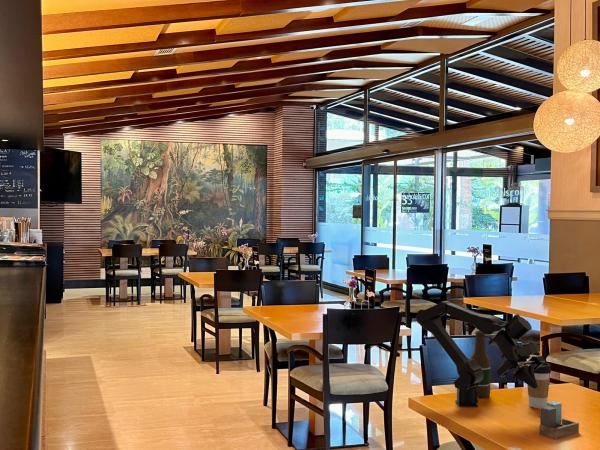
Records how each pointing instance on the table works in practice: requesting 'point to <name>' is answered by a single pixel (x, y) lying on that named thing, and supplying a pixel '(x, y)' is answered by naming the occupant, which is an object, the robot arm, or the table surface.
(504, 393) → the table surface
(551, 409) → the dark gray block
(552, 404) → the pale blue tall block
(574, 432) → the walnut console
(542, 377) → the coffee cup
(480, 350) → the beer bottle
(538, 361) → the robot arm
